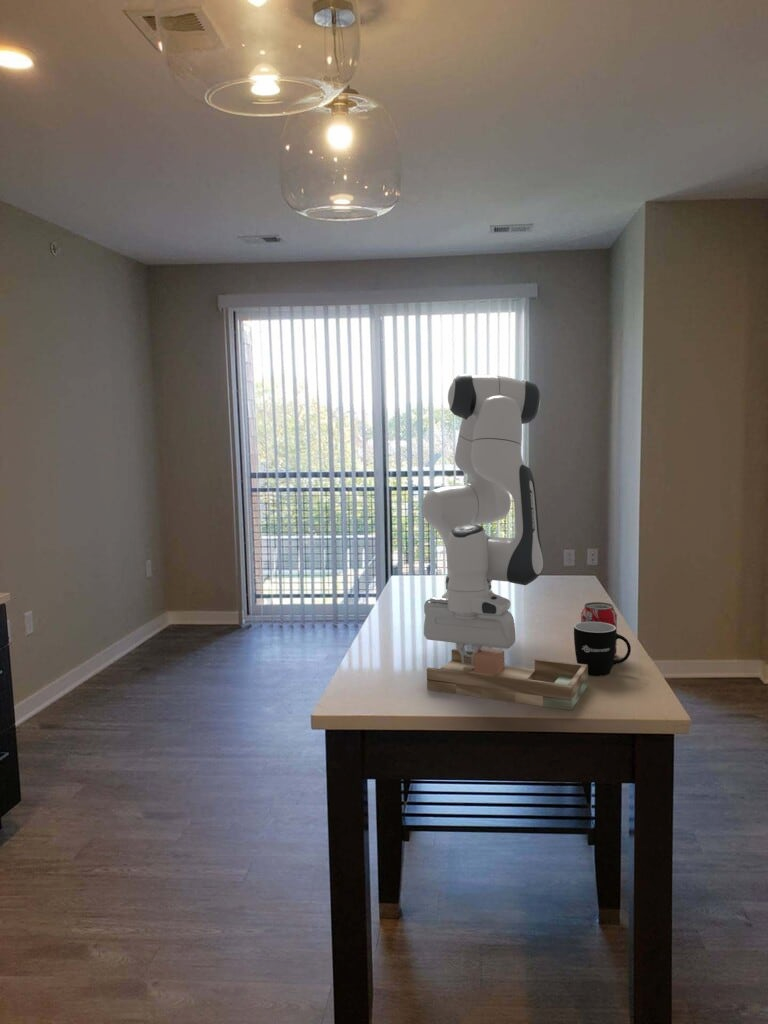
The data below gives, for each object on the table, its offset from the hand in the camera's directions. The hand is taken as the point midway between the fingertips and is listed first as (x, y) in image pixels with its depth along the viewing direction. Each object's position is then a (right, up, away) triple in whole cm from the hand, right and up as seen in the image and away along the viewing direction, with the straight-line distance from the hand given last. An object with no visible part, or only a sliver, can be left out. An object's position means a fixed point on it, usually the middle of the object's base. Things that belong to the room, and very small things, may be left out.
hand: (469, 663), depth 163 cm
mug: (+29, -3, +2) cm, 30 cm away
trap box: (+7, -4, -7) cm, 11 cm away
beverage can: (+32, -1, +14) cm, 35 cm away
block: (+4, -1, -2) cm, 5 cm away
